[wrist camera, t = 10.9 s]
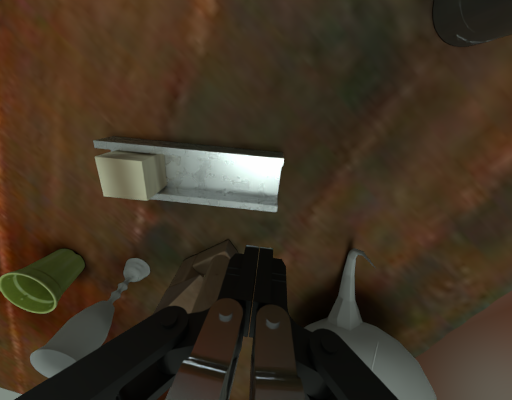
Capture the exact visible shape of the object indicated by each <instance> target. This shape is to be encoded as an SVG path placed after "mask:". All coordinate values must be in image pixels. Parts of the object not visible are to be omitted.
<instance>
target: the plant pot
mask: <svg viewBox="0 0 512 400" xmlns="http://www.w3.org/2000/svg"><path fill="white" fill-rule="evenodd" d="M84 267H85V263H84V260H83V259H82V257H81V256H80V255H77V254H75V253H74V252H73V251H72V250H69V249H59V250H57V251H55V252H53V253H51V254H50V255H48V256H46V257H44V258H42V259H40V260H38V261H36V262H34V263H33V264H31V265H29V266H27V267H25V268H23V269H19V270H17V271H15V272H10V273H7V274H5V275H3V276H2V277H1V278H0V290H1V292H2V293H3V295H4V296H5V297H6V298H7V299H8V300H9V301H10V302H12V303H13V304H15V305H16V306H18V307H20V308H22V309H24V310H26V311H30V312H33V313H48V312H51V311H52V310H54V309H55V308H56V306H57V303H58V301H59V299H60V298H61V295H62V294H63V293H64V292H65V290H66V289H67V288H68V287H69V286H70V285H71V283H72V282H73V281H74V280H75V279H76V278H77V276H78V275H79V274H80V273H81V272H82V271H83V269H84Z"/></svg>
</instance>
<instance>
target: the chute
mask: <svg viewBox="0 0 512 400" xmlns="http://www.w3.org/2000/svg"><path fill="white" fill-rule="evenodd" d="M93 142H94V146H95V148H102V149H111V152H112V151H115V150H122V151H133V152H143V153H153V154H163V155H164V159H165V169H166V180H167V186H165V187H164V188H163V189H162V190H160V191H159V192H158V193H156V194H155V195H154V196H153V197H151V198H150V199H155V200H164V201H174V202H183V203H193V204H203V205H212V206H222V207H232V208H241V209H251V210H260V211H270V212H277V207H278V205H277V195H278V188H279V180H280V173H281V166H283V163H284V156H283V153H282V152H272V151H262V150H251V149H241V148H230V147H220V146H209V145H199V144H189V143H178V142H168V141H157V140H147V139H137V138H126V137H116V136H112V137H107V138H102V139H97V140H93Z"/></svg>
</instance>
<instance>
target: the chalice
mask: <svg viewBox="0 0 512 400" xmlns="http://www.w3.org/2000/svg"><path fill="white" fill-rule="evenodd" d="M149 273H150V268H149V266H148V264H147V263H146V262H144V261H143V260H141V259H138V258H131V259H129V260H128V261H127V262H126V266H125V267H124V271H123V274H124V277H125V278H126V279H125V281H124V282H122V283H119V284H118V289H117V290H116V291H114V292H112V293H111V297H110V299H109V300H108V301H100V302H98V303H96V304H94V305H92V306H90V307H88V308H86V309H84V310H83V311H81V312H80V313H78V314H77V315H75V316H74V317H72V318H71V319H70V320H68V321H67V323H66V324H65V325H64V326H63V327H62V328H61V329H60V330H59V331H58V332H57V333H56V334H55V335H54V336H53V337H52V339H51V340H50V341H49V342H48V343H47V344H46V345H45V346H43V347H41V348H40V349H38V350H36V351H34V352H33V353H32V354H31V357H30V360H31V364H32V365H33V366H34V368H35V369H36V370H37V371H38V372H40V373H41V374H43V375H44V376H46V377H48V378H50V377H52V376H54V375H55V374H57V373H59V372H60V371H62V370H63V369H65V368H67V367H68V366H70V365H72V364H73V363H75V362H77V361H78V360H80V359H81V358H83V357H85V356H86V355H88V354H90V353H91V352H93V351H94V350H96V349H98V348H99V347H100V346H101V345H102V344H103V342H104V341H105V339H106V337H107V335H108V332H109V329H110V326H111V323H112V318H113V314H114V306H113V305H112V304H113V302H114V301H115V300H116V299H118V298H120V294H121V292H122V291H123V290H127V285H128V283H129V282H137V281H140V280H141V279H143V278H144V277H146V276H148V275H149Z"/></svg>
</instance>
